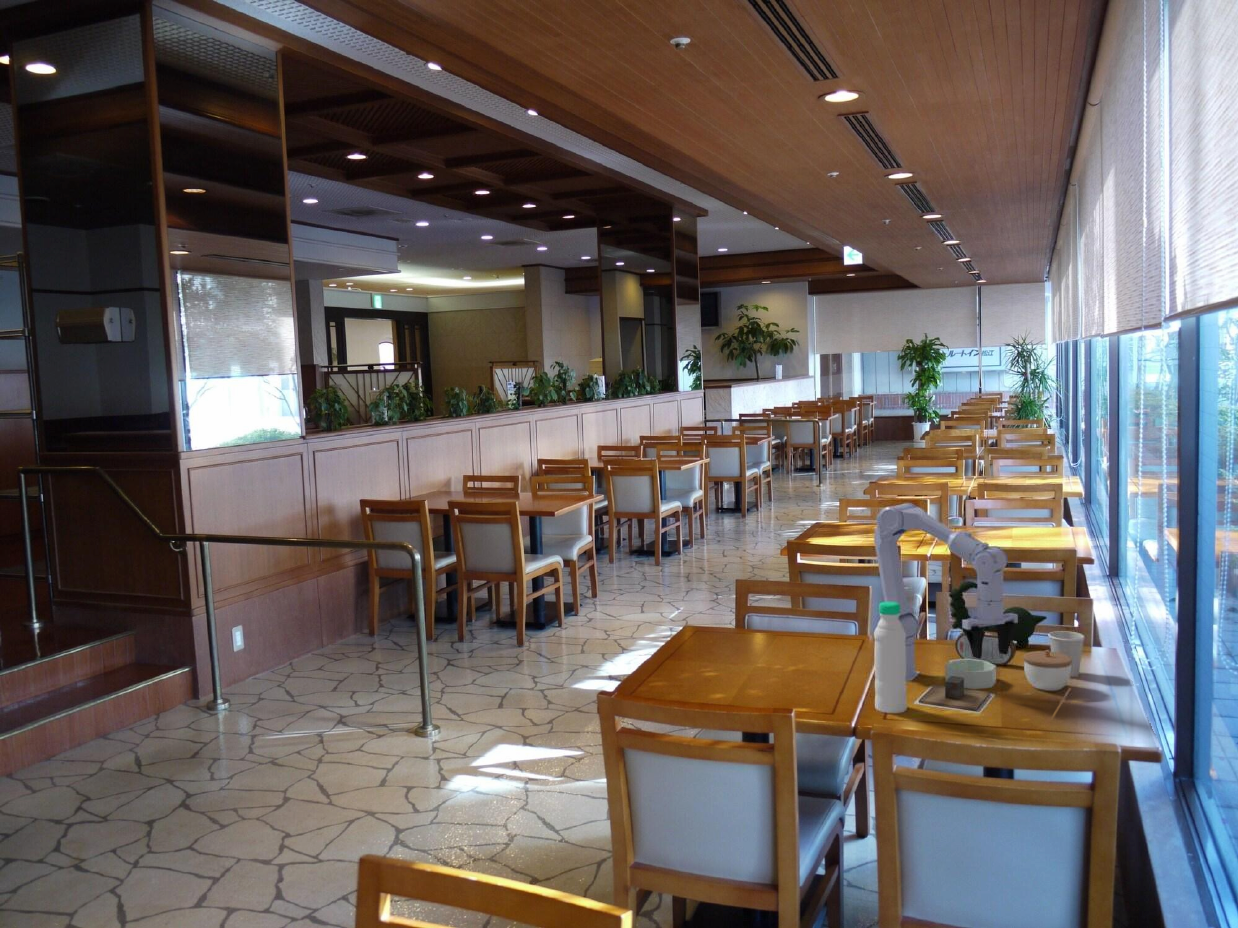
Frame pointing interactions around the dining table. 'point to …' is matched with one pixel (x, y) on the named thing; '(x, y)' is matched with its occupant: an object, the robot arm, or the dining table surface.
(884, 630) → the water bottle
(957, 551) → the robot arm
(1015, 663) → the dining table surface
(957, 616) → the toy figurine
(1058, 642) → the dixie cup
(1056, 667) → the lidded jar
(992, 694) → the mat
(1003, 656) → the tin
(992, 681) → the bowl
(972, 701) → the lid
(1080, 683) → the dining table surface
